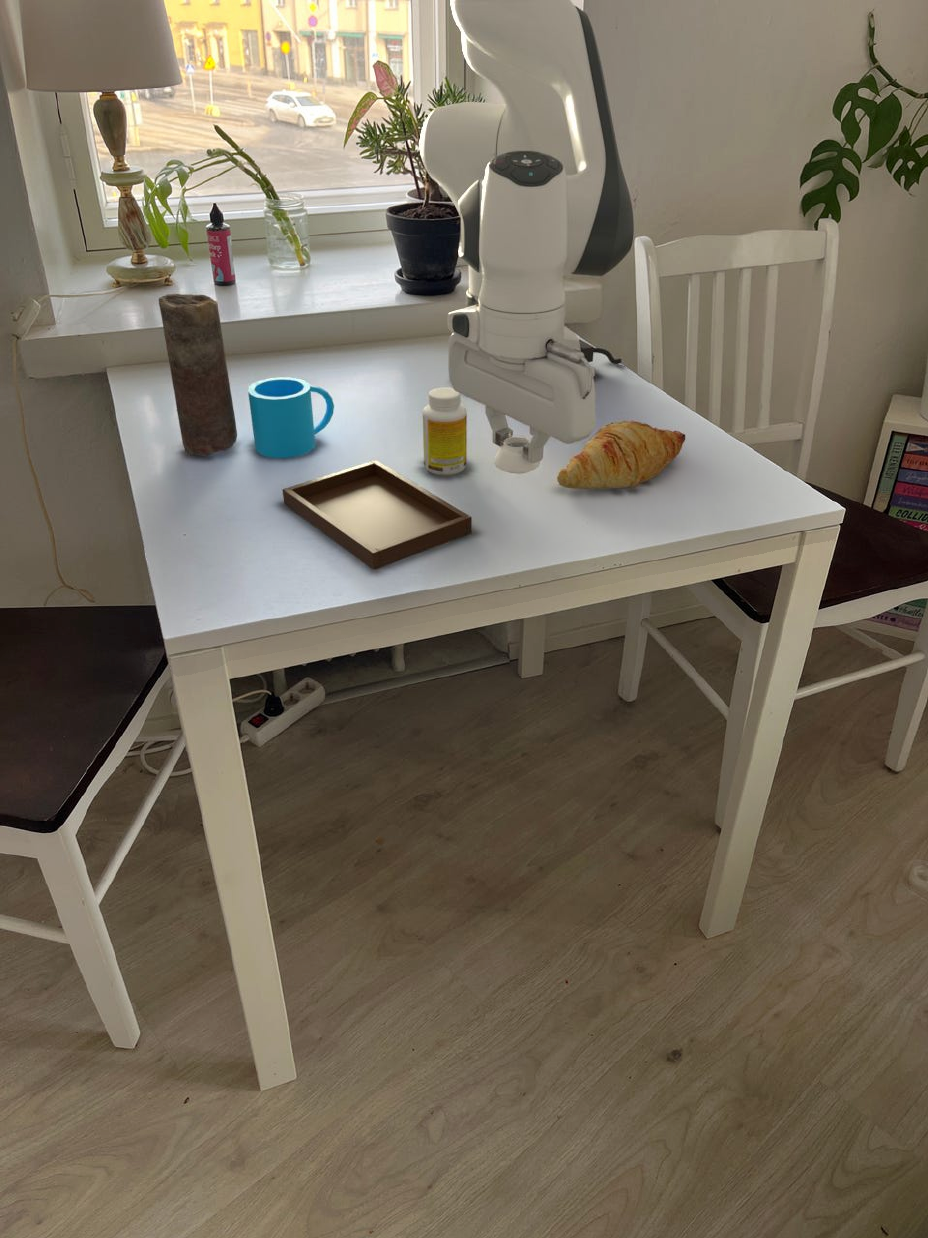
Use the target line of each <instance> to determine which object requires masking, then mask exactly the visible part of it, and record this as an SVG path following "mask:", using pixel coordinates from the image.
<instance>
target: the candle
mask: <svg viewBox="0 0 928 1238" xmlns="http://www.w3.org/2000/svg"><path fill="white" fill-rule="evenodd" d="M158 306H159V312H160V316H161V317H160V318H161V323H162V329H163V334H164V335H163V336H164V339H165V346H166V352H167V358H168V364H169V368H170V375H171V381H172V387H173V392H174V400H175V406H176V412H177V419H178V425H179V429H180V436H181V442H182V443H181V444H182V446H183V449H184V451H185V453H186V454H188V455H190V456H205V457H206V456H209V455H211V454H212V453H217V452H222V451H223V452H225V451H226V450H228V449H231V447H233V446H234V444H235V443H236V442H237V438H238V430H237V429H238V428H237V422H236V416H235V409H234V403H233V396H232V391H231V384H230V377H229V370H228V364H227V357H226V349H225V344H224V336H223V329H222V324H221V316H220V310H219V303H218V301H217V300H214V299H213V298H211V297H210V296H208V295H206V294H189V293H185V294H181V293H168V294H165V295H162V296H159V298H158Z"/></svg>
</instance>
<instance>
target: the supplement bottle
mask: <svg viewBox="0 0 928 1238" xmlns="http://www.w3.org/2000/svg"><path fill="white" fill-rule="evenodd" d="M461 399H462V398H461V393H459V392H457V391H455V390H454V388H453V387H445V386H444V387H437V388H434V389H431V390H429V392H428V404H427V405H425V407H424V408H423V410H422V438H423V439H422V440H423V442H422V443H423V446H422V447H423V464H424V469H426V471H428V472H429V473H431V474H433V475H438V476H453V475H457V474H459V473H461V472H463V471H464V470H465V469H466V467H467V455H468V454H467V443H468V442H467V441H468V439H467V438H468V437H467V436H468V435H467V433H468V432H467V431H468V430H467V428H468V427H467V425H468V424H467V423H468V421H467V417H468V415H467V413H468V412H467V408H466V407H465V406H464V405H463V404H462V403H461V402H462V400H461Z"/></svg>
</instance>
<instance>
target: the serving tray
mask: <svg viewBox="0 0 928 1238" xmlns="http://www.w3.org/2000/svg"><path fill="white" fill-rule="evenodd" d="M281 490H282V499H283V505H284V506H285V507H287V508H288V509H289V510H290V511H292V512H294V513H295V514H296V515H298V516H299V517H300V518H302V519H303V520H304V521H306V522H307V523H309V524H310V525H311V526H312V527H314V528H316V529H317V530H318V531H320V533H323V534H324V535H325V536H326V537H328V538H329V539H331V540H332V541H333V542H334V543H336V544H338V545H339V546H340V547H342V548H343V549H344V550H346V551H347V552H348V553H350V554H351V555H353V556H354V557H355V558H356V559H358V560H359V561H361V562H362V563H363V564H365V565H366V566H368V567H369V568H370V569H372V570H374V571H375V570H378V569H381V568H383V567H386V566H388V565H391V564H394V563H396V562H400V561H401V560H404V559H407V558H409V557H412V556H414V555H417V554H420V553H423V552H425V551H428V550H430V549H433V548H435V547H438V546H440V545H444V544H446V543H448V542H451V541H454V540H457V539H459V538H462V537H464V536H467V535H470V534H472V531H473V529H472V527H473V526H472V525H473V520H472V519H473V517H472V516H471V515H469V514H467V513H465V512H464V511H462V510H461V509H459V508H458V507H456V506H454V505H453V504H451V503H449V502H447V501H445V500H444V499H442V498H441V497H439V496H438V495H436V494H434V493H432V492H431V491H429V490H427V489H425V488H424V487H422V486H420V485H418V484H417V483H415V482H414V481H412V480H410V479H408V478H407V477H405V476H403V475H402V474H400V473H399V472H397V471H395V470H394V469H392V468H390V467H388V466H387V465H385V464H384V463H382V462H380V461H378V460H376V459H374V460H372V461H368V462H365V463H362V464H359V465H355V466H353V467H349V468H346V469H342V470H339V471H336V472H332V473H330V474H327V475H324V476H323V475H322V476H320V477H317V478H313V479H311V480H306V481H305V482H300V483H298V484H293V485H291V486H289V487H285V488H282V489H281Z"/></svg>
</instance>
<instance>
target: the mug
mask: <svg viewBox="0 0 928 1238" xmlns="http://www.w3.org/2000/svg"><path fill="white" fill-rule="evenodd" d="M247 393H248V401H249V402H248V403H249V409H250V416H251V425H252V433H253V442H254V448H255V451H256V452H257V453H258V454H260V455H262V456H264V457H268V458H272V459H289V458H291V459H292V458H296V457H301V456H304V455H306V454H308V453H310V452H311V451H313V450H314V449H315V447H316V436H315V435H317V434H319V433H320V432H321V431H323V430H324V429H325V428H326V427H327V425H328V424H329V423H330V422H331V420H332V417H333V415H334V411H335V404H334V400H333V397H332V396H331V395H330V393H329V392H328V391H327V390H325V389H324V388H322V387H320V386H315V385H311V384H310V383H309V382H308V381H306V380H304V379H301V378H295V377H288V376H287V377H286V376H279V377H278V376H277V377H270V378H265V379H261V380H257V381H255V382H254V383H252V384H250V385H249V387H248V388H247ZM312 393H315V394H316V393H317V394H318V395H320V396H322V398H323V399H324V400H325V404H326V409H325V413H324V415H323V418H322V419H321V420H320V422H319V423H317V425H314V415H313V403H312Z"/></svg>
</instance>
